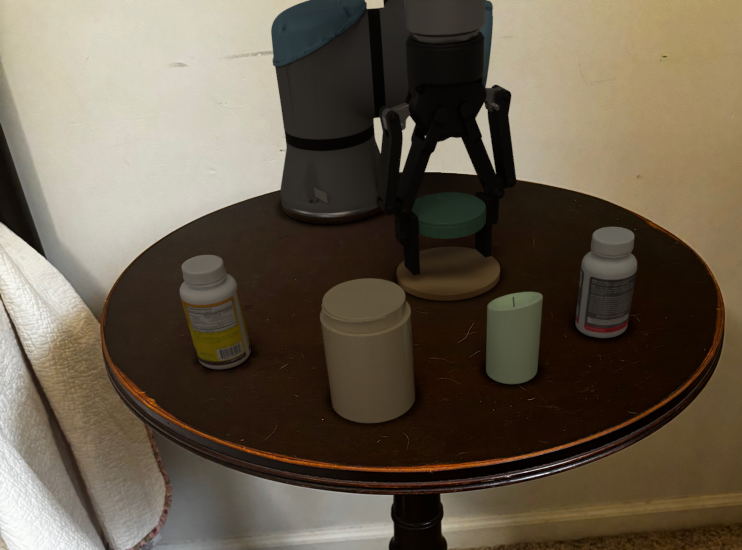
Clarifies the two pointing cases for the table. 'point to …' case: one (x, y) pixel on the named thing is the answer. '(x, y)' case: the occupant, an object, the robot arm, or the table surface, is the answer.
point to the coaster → (450, 274)
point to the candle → (513, 337)
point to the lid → (449, 215)
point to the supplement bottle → (214, 313)
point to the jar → (368, 350)
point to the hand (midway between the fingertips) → (448, 260)
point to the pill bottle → (606, 283)
